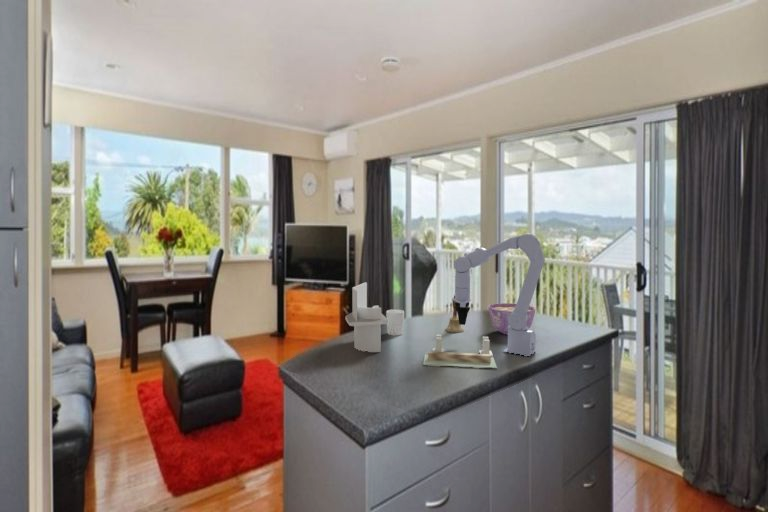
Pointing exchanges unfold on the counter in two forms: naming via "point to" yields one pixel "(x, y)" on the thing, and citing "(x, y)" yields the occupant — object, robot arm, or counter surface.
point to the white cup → (395, 322)
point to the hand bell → (454, 321)
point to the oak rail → (459, 357)
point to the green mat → (458, 363)
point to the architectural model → (365, 321)
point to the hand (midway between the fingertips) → (462, 322)
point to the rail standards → (484, 350)
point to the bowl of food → (506, 316)
